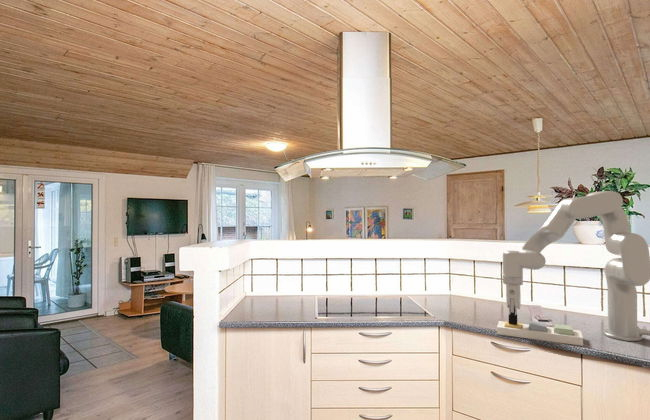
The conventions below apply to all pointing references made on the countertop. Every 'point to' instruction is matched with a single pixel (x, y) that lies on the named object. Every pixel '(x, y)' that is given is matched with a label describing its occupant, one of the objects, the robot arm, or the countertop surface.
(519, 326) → the key ochre
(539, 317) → the mobile phone
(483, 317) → the countertop surface
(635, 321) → the robot arm
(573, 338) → the keypad
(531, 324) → the key slate
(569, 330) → the key sage
